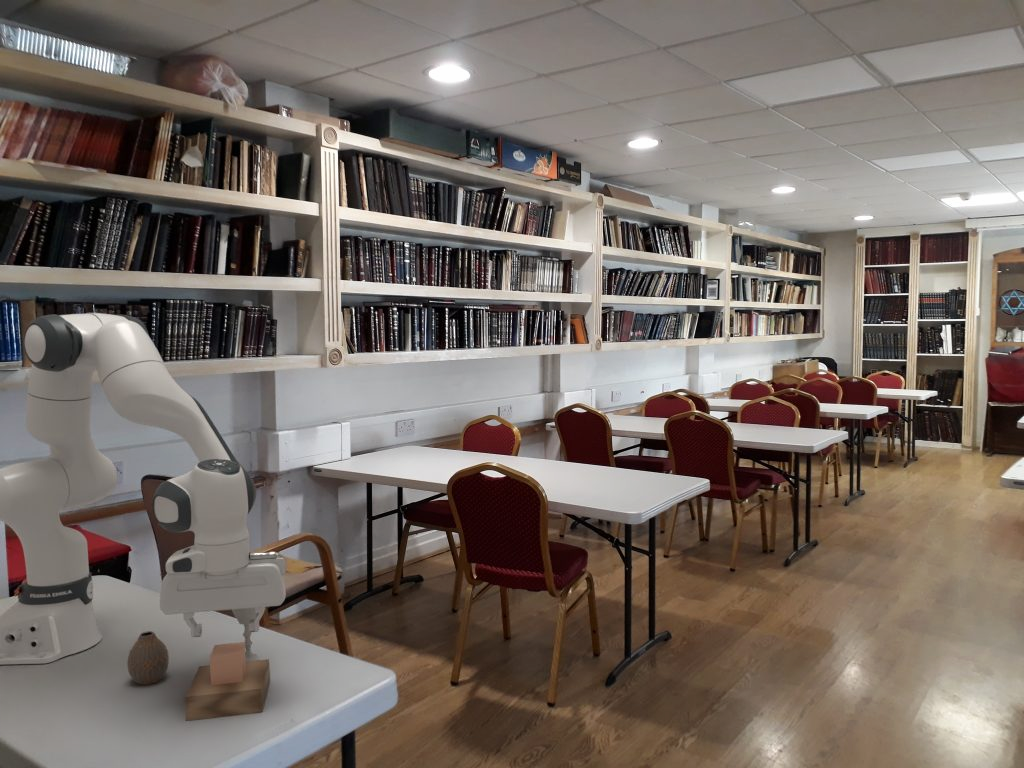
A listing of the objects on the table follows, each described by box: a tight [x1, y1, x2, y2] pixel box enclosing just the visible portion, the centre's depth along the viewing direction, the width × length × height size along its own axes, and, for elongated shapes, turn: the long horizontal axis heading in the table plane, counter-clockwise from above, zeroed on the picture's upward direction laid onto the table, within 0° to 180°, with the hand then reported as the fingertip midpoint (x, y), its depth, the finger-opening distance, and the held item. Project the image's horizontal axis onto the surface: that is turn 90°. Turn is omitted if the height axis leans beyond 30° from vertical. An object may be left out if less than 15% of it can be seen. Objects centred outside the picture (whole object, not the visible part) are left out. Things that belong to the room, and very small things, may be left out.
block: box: [209, 641, 246, 685], centre depth 134 cm, size 5×5×5 cm
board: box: [184, 658, 271, 722], centre depth 134 cm, size 12×12×4 cm
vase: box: [127, 630, 170, 686], centre depth 142 cm, size 7×7×9 cm
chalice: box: [231, 608, 260, 662], centre depth 146 cm, size 7×7×18 cm
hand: (225, 633), depth 133 cm, fingers open, 8 cm apart
